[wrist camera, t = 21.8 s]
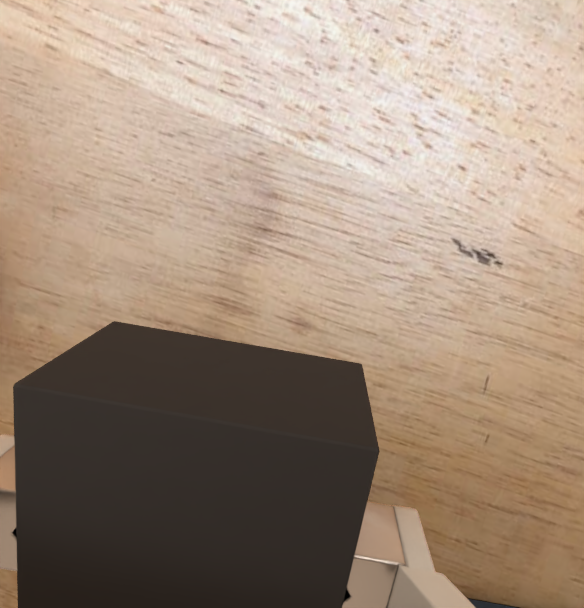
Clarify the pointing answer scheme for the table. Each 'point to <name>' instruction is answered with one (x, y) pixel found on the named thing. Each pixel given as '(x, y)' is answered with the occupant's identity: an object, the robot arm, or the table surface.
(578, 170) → the table surface
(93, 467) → the dark brown square block
